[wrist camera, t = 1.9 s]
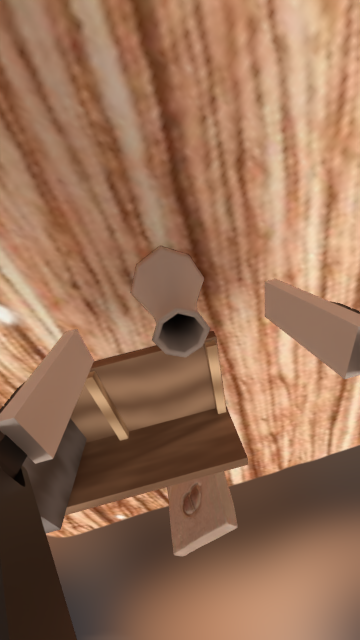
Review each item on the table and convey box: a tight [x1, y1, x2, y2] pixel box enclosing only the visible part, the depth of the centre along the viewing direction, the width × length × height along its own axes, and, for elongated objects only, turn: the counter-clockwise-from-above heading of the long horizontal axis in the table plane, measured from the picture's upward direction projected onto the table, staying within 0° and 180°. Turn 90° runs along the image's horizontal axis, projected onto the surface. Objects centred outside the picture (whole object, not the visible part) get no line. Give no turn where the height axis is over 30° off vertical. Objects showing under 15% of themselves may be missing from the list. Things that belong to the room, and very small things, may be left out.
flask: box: [131, 246, 210, 358], centre depth 15 cm, size 7×7×10 cm
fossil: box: [167, 471, 238, 556], centre depth 33 cm, size 12×4×10 cm, turn 137°
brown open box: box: [22, 331, 248, 533], centre depth 22 cm, size 14×22×10 cm, turn 102°
